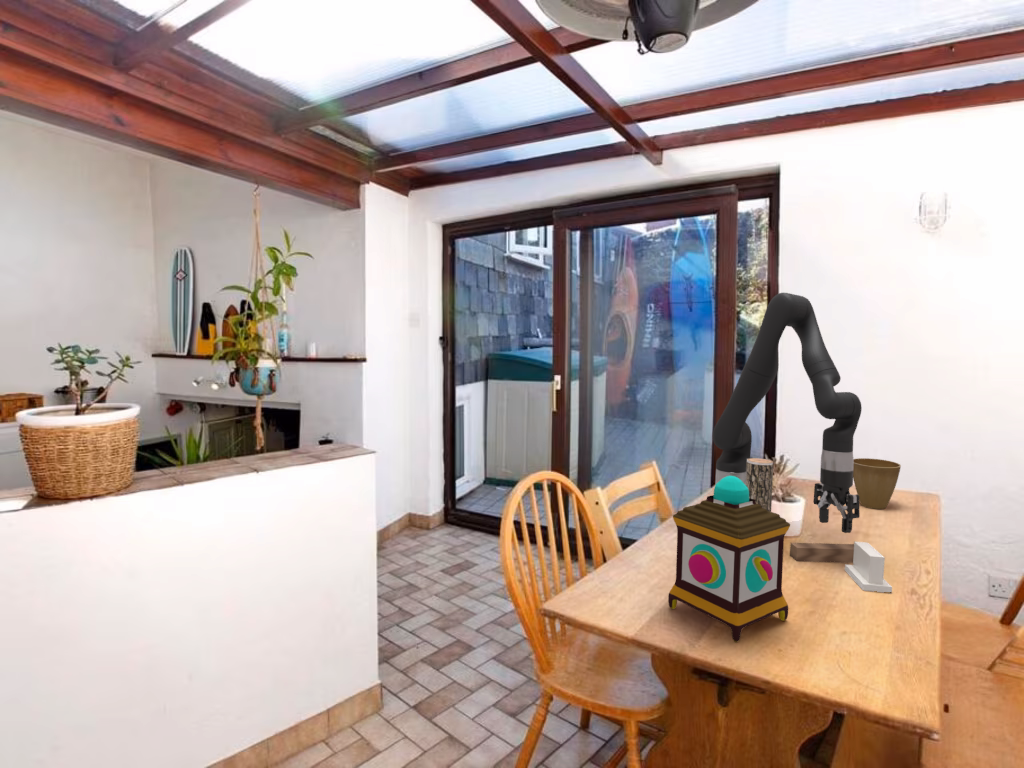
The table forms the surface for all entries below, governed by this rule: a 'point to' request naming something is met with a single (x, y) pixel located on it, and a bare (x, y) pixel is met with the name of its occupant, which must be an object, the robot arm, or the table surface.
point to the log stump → (760, 481)
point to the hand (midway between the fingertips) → (834, 527)
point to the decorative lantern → (730, 558)
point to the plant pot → (875, 481)
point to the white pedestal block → (868, 568)
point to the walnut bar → (822, 552)
